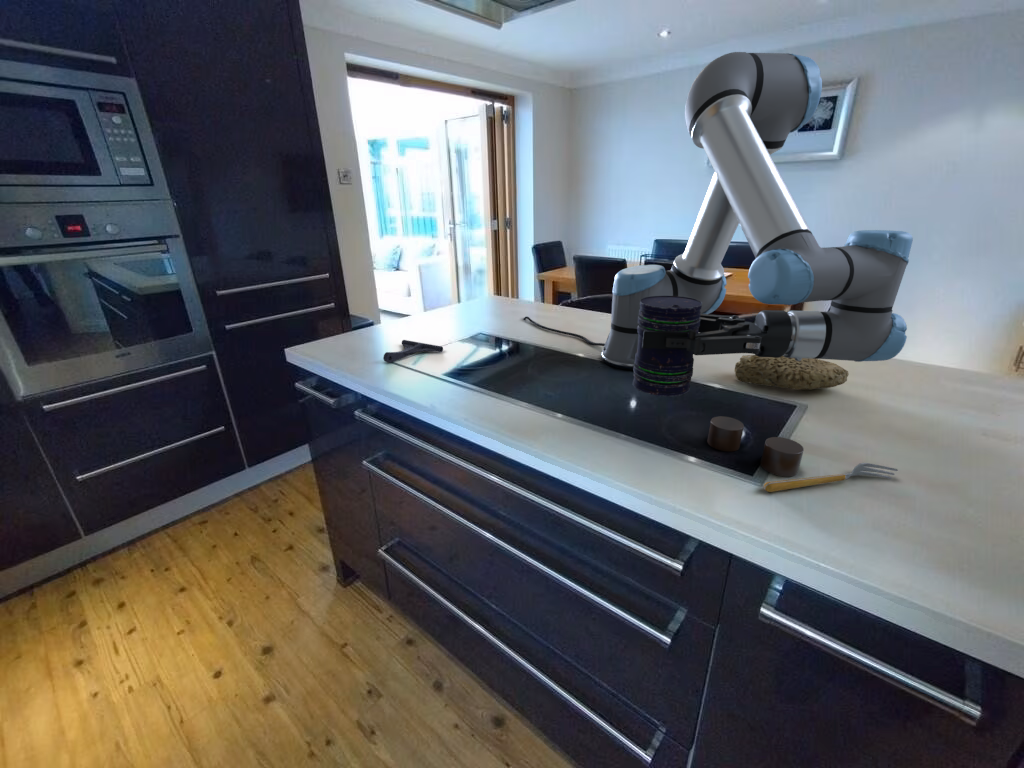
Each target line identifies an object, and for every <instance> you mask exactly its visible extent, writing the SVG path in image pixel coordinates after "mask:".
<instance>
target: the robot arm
mask: <svg viewBox="0 0 1024 768" xmlns="http://www.w3.org/2000/svg"><path fill="white" fill-rule="evenodd" d="M822 90H823V79H822V77H821V70H820V67H819V65H818V63H816V61H815V60H814V59H813V58H811V57H809V56H806V55H800V54H794V53H789V52H785V53H784V52H747V51H733V52H727V53H725V54H723V55H721V56H718V57H716V58H714V59H713V60H712V61H711V62H709V63H708V64H707V65H705V66H704V67H703V69H702V70H701V71H700V72H699V73H698V74H697V76H696V78H695V79H694V80H693V82H692V84H691V86H690V89H689V90H688V93H687V97H686V101H685V107H684V118H685V125H686V128H687V132H688V134H689V136H690V138H691V140H692V142H693V145H695V146H696V147H697V148H699V149H703V150H704V152H705V154H706V156H707V158H708V161H709V163H710V165H711V166H712V169H713V171H714V172H713V175H712V177H711V180H710V183H709V186H708V188H707V191H706V194H705V196H704V199H703V201H702V204H701V207H700V209H699V211H698V215H697V217H696V219H695V223H694V226H693V228H692V231H691V233H690V236H689V238H688V241H687V244H686V247H685V249H684V252H683V253H681V254H679V255H677V256H676V257H675V258H674V260H673V263H672V265H671V269H670V270H666V268H665V267H664V266H663V265H660V264H641V265H634V266H633V265H632V266H629V267H626V268H623V269H620V270H619V271H618V272H617V273H616V274H615V276H614V281H613V284H612V285H613V287H612V290H611V291H612V298H611V299H612V301H611V318H610V330H609V333H608V336H607V338H606V340H605V343H604V342H593V341H591V340H590V339H588V338H586V337H585V336H584V335H581V334H577V333H575V332H574V333H573V332H569V331H564V330H561V329H556V328H551V327H548V326H544V325H542V324H540V323H537V322H536V321H534V320H533V319H531V317H529V316H527V315H526V316H524V317H523V318H522V320H524V321H526V320H528V321H529V322H530V323H532V324H533V325H535V326H536V327H538V328H541V329H543V330H545V331H550V332H555V333H559V334H562V335H567V336H572V337H576V338H579V339H581V340H583V341H585V342H586V343H587V344H588V345H592V346H596V347H597V346H598V347H603V348H602V351H601V360H602V362H603V363H604V364H606V365H608V366H609V367H613V368H617V369H621V370H627V371H634V370H633V369H634V362H635V354H636V353H637V346H638V335H639V334H638V333H637V331H638V330H637V327H638V315H639V309H640V300H641V299H642V298H646V297H651V296H680V297H688V298H693V299H696V300H699V301H701V302H702V308H701V309H700V312H701V314H700V326H699V327H698V331H699V333H696V331H694V330H689V335H688V337H687V334H688V333H687V332H681V331H648V330H644V333H643V343H642V348H655V349H682V350H685V349H686V348H687V351H693V356H712V355H713V356H714V355H730V354H732V355H733V354H749V355H756V356H758V357H775V358H779V357H781V356H784V357H786V358H795V360H796V361H801V360H802V358H809V359H820V360H833V361H851V362H855V363H856V362H857V363H859V362H860V363H861V362H879V361H880V362H882V361H889V360H891V359H893V358H895V357H896V356H898V355H899V353H900V352H901V351H902V350H903V348H904V347H905V344H906V342H907V337H908V336H907V335H906V332H907V330H908V327H907V322H906V321H905V319H904V318H903V317H902V316H901V315H900V314H898V313H894V312H893V308H894V305H895V301H896V299H897V296H898V293H899V289H900V287H901V283H902V281H903V277H904V275H905V272H906V269H907V266H908V264H909V262H910V259H909V257H910V254H911V249H912V248H911V247H912V245H913V239H914V237H913V236H912V235H913V234H911V233H909V232H907V231H903V230H890V229H889V230H887V229H886V230H885V229H868V230H867V229H864V230H863V229H862V230H855V231H853V232H851V233H850V234H849V235H848V238H847V240H846V242H845V244H844V246H830V247H829V246H828V247H821V246H820V245H819V243H818V241H817V239H816V237H815V235H814V234H813V232H812V231H811V229H810V227H809V225H808V223H807V221H806V219H805V217H804V216H803V213H802V212H801V210H800V208H799V207H798V204H797V203H796V201H795V199H794V197H793V195H792V194H791V191H790V189H789V188H788V185H787V183H786V182H785V180H784V178H783V177H782V174H781V173H780V171H779V169H778V167H777V165H776V163H775V162H774V160H773V158H772V154H775V153H776V152H778V151H780V150H781V149H783V148H784V145H785V143H786V141H787V138H788V137H789V135H790V133H794V132H796V131H798V130H800V129H802V128H803V127H804V126H805V125H807V123H808V122H809V121H810V120H811V119H812V118H813V116H814V114H815V113H816V110H817V109H818V106H819V103H820V100H821V96H822V92H823V91H822ZM738 226H739V227H740V229H741V230H742V232H743V235H744V237H745V238H746V241H747V243H748V245H749V247H750V249H751V251H752V254H753V255H754V258H755V259H754V260H753V261H752V263H751V265H750V267H749V270H748V273H747V278H748V279H749V283H748V290H749V292H750V294H751V295H752V297H753V298H754V299H755V300H756V301H758V302H759V303H761V304H763V305H764V304H765V305H785V306H791V305H797V304H802V303H812V302H821V301H823V302H826V301H830V309H829V311H827V310H826V311H819V310H789V311H788V312H787V311H785V310H769V309H767V310H765V309H763V310H761V311H759V312H758V313H757V314H756V316H755V319H753V320H752V321H746V319H745V318H740V316H739V315H735V314H734V315H723V314H721V315H720V314H712V313H713V312H714V311H716V310H717V309H718V308H720V306H721V305H722V303H723V302H724V300H725V297H726V293H727V288H726V286H727V279H726V276H725V269H724V267H723V265H722V262H723V259H724V257H725V255H726V254H727V253H726V252H727V251H728V249H729V247H730V244H731V242H732V240H733V238H734V235H735V233H736V231H737V228H738Z"/></svg>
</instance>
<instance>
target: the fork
mask: <svg viewBox="0 0 1024 768" xmlns="http://www.w3.org/2000/svg"><path fill="white" fill-rule="evenodd" d="M886 470H887V471H886ZM890 471H891V472H890ZM898 471H899V470H898V469H897V468H894V467H889V466H884V465H879V464H876V463H875V464H874V463H870V462H861V463H858V464H856V466H854V468H853V469H852V471H851V472H849V473H839V474H828V475H819V476H811V477H802V478H793V479H792V478H791V479H781V480H773V481H766V482H765V483H764V484H763V489H764V491H766V492H768V493H772V492H779V491H780V492H781V491H786V490H791V489H798V488H805V487H810V486H817V485H822V484H828V483H835V482H841V481H846V480H849V478H850V477H854V476H855V477H856V476H871V477H879V478H884V479H892V477H891V476H895V475H896V474H895V473H894V472H898ZM883 474H885V475H883ZM887 475H891V476H887Z"/></svg>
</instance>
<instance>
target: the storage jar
mask: <svg viewBox="0 0 1024 768" xmlns="http://www.w3.org/2000/svg"><path fill="white" fill-rule="evenodd" d="M701 308H702V302H701V301H699V300H696V299H693V298H688V297H680V296H651V297H646V298H642V299H641V300H640V309H639V315H638V327H637V330H638V331H637V333H638V334H639V335H638V346H637V353H636V354H635V362H634V369H633V370H632V371H633V378H632V386H633V387H634V389H636V390H638V391H639V392H641V393H644V394H647V395H651V396H656V397H664V398H665V397H667V398H671V397H681V396H684V395H685V394H688V392H690V389H691V381H692V377H693V375H694V365H695V364H694V362H695V358H694V354H693V351H687V348H686V349H685V350H682V349H655V348H642V343H643V333H644V330H648V331H681V332H687V333H688V334H687V337H688V335H689V330H694V331H696V333H699V331H698V327H699V326H700V314H701V312H700V309H701Z"/></svg>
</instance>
